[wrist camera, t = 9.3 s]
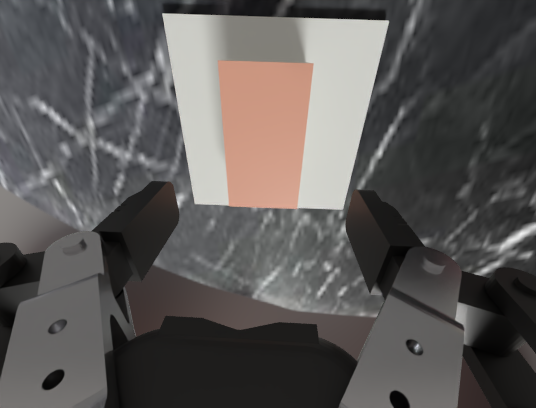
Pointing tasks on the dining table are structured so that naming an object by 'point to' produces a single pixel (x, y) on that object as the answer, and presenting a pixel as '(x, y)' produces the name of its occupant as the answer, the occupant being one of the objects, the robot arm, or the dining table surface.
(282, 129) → the card box
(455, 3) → the dining table surface
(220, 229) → the dining table surface
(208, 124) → the mat
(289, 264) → the dining table surface
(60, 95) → the dining table surface
